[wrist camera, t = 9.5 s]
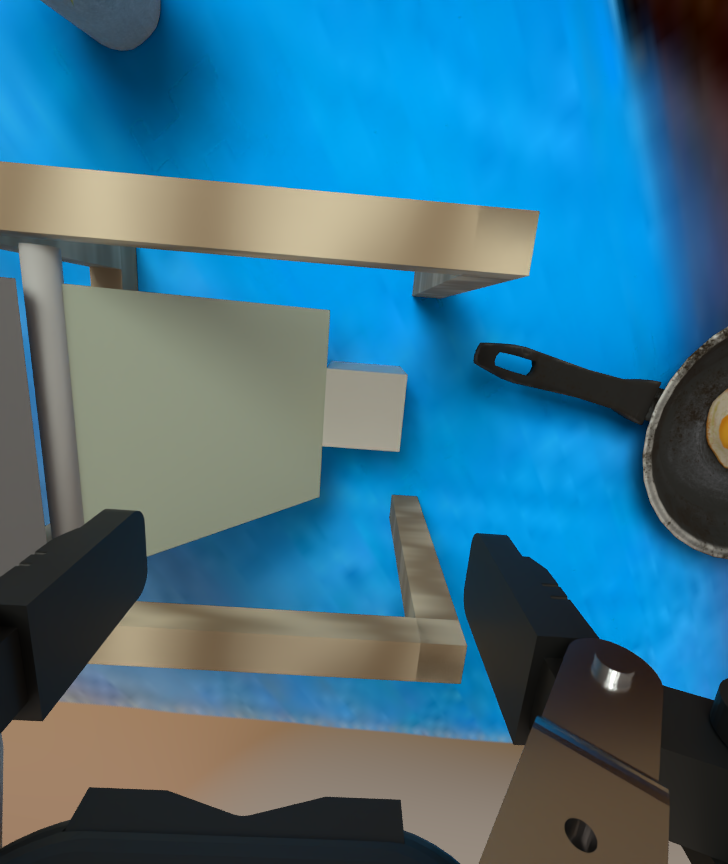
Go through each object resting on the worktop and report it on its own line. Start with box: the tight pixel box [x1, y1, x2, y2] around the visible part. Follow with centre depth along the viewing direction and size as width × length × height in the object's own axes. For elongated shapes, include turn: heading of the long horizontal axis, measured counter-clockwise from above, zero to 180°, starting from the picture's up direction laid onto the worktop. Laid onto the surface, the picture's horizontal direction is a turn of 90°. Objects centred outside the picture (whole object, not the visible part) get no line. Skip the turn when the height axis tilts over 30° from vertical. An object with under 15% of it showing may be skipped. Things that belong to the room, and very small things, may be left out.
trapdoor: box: [0, 243, 330, 577], centre depth 21 cm, size 19×14×5 cm
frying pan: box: [474, 327, 728, 559], centre depth 31 cm, size 19×32×4 cm, turn 74°
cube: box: [322, 361, 407, 452], centre depth 29 cm, size 5×5×5 cm
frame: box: [0, 162, 539, 684], centre depth 24 cm, size 23×19×16 cm
